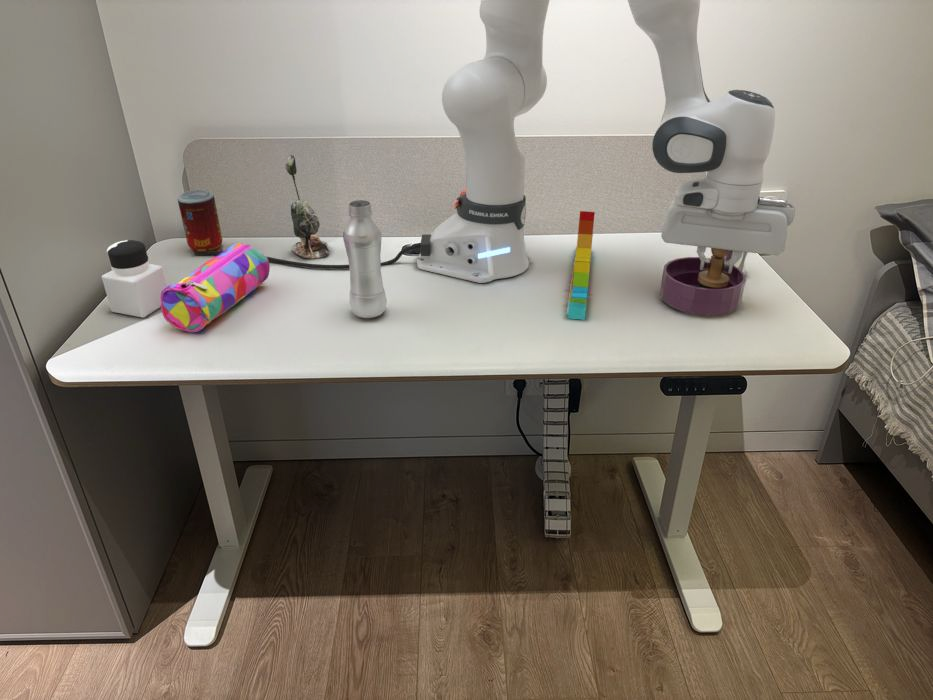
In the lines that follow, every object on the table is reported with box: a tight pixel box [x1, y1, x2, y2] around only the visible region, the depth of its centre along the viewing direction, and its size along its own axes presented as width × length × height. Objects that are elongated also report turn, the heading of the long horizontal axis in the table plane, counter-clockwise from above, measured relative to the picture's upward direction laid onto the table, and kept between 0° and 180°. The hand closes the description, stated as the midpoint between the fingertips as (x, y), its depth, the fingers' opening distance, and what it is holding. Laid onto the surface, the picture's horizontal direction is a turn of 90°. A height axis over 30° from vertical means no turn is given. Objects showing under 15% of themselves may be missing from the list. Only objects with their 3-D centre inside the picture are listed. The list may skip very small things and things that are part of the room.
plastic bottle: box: [342, 199, 388, 319], centre depth 117 cm, size 6×7×20 cm
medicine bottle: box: [101, 239, 168, 319], centre depth 122 cm, size 7×7×12 cm
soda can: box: [177, 189, 223, 256], centre depth 144 cm, size 7×7×12 cm
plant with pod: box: [284, 154, 331, 260], centre depth 140 cm, size 8×11×20 cm
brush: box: [698, 248, 729, 289], centre depth 122 cm, size 5×5×9 cm
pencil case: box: [160, 242, 271, 333], centre depth 122 cm, size 22×9×9 cm, turn 163°
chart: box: [566, 210, 596, 321], centre depth 129 cm, size 30×3×15 cm, turn 169°
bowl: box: [659, 256, 747, 317], centre depth 125 cm, size 14×14×6 cm
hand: (715, 270), depth 123 cm, fingers closed on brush, 2 cm apart
